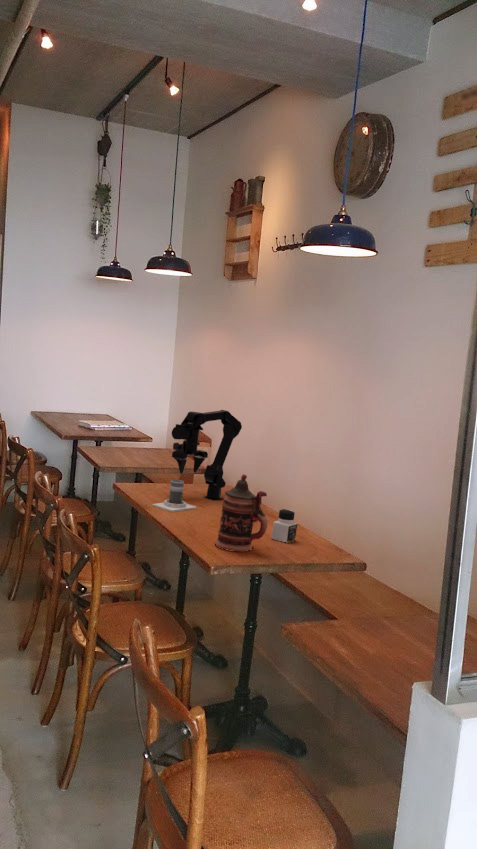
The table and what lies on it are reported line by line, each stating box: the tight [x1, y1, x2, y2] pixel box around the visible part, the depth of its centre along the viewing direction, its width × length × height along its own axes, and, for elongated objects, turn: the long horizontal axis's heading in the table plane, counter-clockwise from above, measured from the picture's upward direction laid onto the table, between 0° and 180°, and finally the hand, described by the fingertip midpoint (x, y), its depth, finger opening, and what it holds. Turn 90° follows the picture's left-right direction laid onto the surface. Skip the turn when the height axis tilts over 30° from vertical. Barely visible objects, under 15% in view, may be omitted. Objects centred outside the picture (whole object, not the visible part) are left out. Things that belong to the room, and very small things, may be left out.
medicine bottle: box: [271, 508, 298, 544], centre depth 292 cm, size 7×7×12 cm
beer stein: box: [215, 474, 268, 552], centre depth 271 cm, size 17×28×18 cm
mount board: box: [151, 499, 198, 513], centre depth 325 cm, size 16×12×3 cm
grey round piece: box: [169, 479, 185, 504], centre depth 324 cm, size 6×6×11 cm
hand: (188, 472), depth 340 cm, fingers open, 9 cm apart
